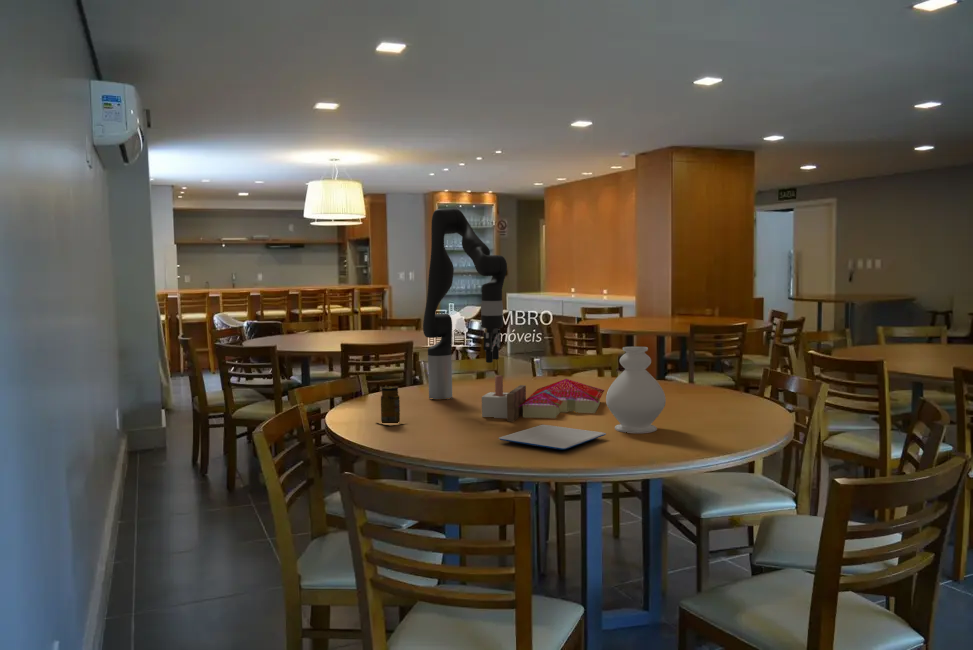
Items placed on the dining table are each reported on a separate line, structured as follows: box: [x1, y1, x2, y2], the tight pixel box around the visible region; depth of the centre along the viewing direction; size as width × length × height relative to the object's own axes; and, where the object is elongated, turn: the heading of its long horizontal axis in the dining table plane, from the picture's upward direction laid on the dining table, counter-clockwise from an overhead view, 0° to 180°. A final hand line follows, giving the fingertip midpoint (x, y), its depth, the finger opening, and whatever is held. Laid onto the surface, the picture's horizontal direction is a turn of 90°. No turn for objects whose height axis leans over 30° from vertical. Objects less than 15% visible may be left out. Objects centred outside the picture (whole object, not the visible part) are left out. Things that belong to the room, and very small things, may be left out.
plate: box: [498, 424, 607, 451], centre depth 209 cm, size 22×22×2 cm
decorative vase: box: [605, 346, 667, 434], centre depth 223 cm, size 18×18×25 cm
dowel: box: [494, 375, 504, 396], centre depth 250 cm, size 3×3×12 cm
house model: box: [520, 378, 605, 419], centre depth 260 cm, size 38×25×10 cm
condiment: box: [380, 385, 401, 423], centre depth 239 cm, size 7×8×12 cm
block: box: [481, 391, 509, 419], centre depth 250 cm, size 10×10×7 cm
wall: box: [506, 384, 527, 423], centre depth 248 cm, size 20×2×9 cm, turn 165°
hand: (492, 360), depth 251 cm, fingers open, 8 cm apart
